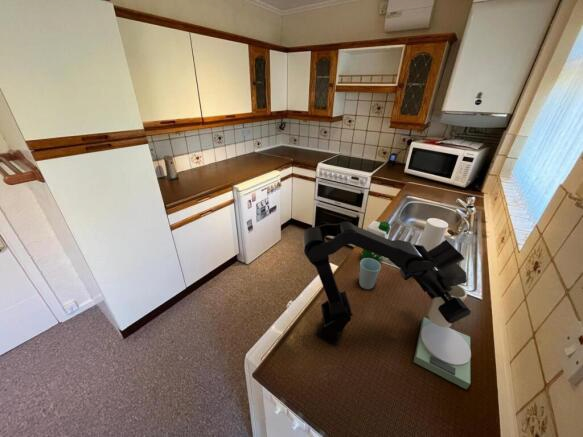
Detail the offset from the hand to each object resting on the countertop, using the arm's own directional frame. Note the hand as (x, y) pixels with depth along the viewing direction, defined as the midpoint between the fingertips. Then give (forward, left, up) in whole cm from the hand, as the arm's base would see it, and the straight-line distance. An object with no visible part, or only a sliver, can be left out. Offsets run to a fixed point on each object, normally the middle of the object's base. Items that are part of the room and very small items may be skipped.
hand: (451, 303), depth 72 cm
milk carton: (+25, +29, -13) cm, 41 cm away
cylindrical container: (+28, +9, -13) cm, 32 cm away
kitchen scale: (-7, -2, -13) cm, 15 cm away
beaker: (-1, +1, -7) cm, 7 cm away
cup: (+8, +26, -13) cm, 31 cm away
